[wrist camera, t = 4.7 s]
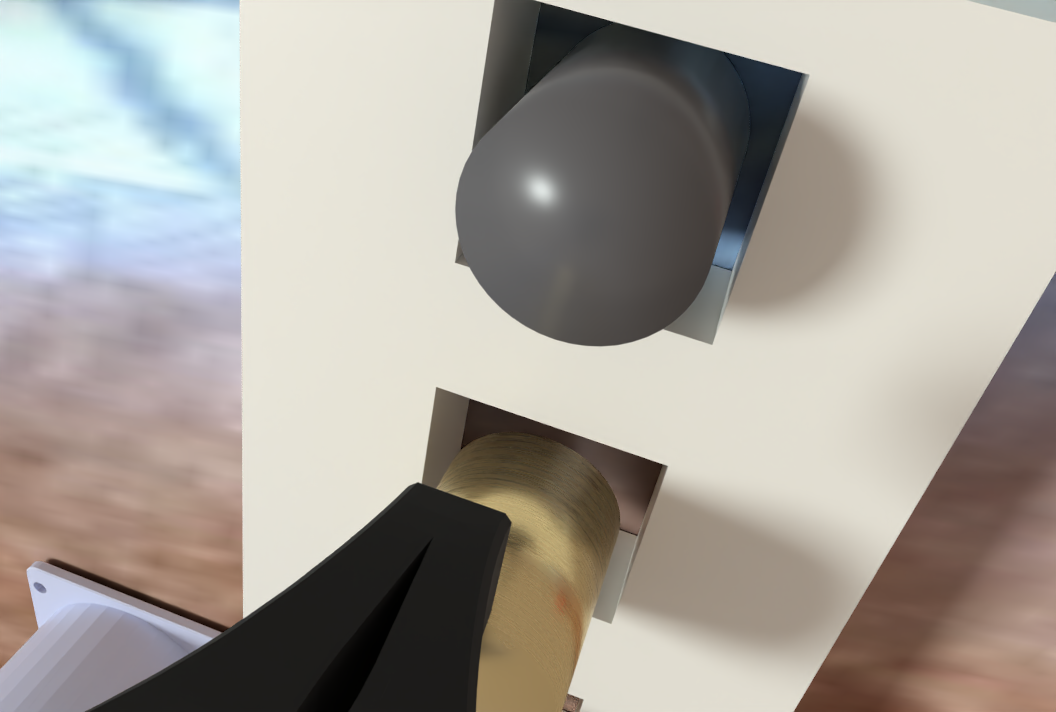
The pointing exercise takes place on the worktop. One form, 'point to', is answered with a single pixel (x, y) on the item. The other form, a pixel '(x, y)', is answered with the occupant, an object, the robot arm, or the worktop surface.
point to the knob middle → (537, 563)
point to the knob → (606, 187)
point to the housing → (669, 355)
